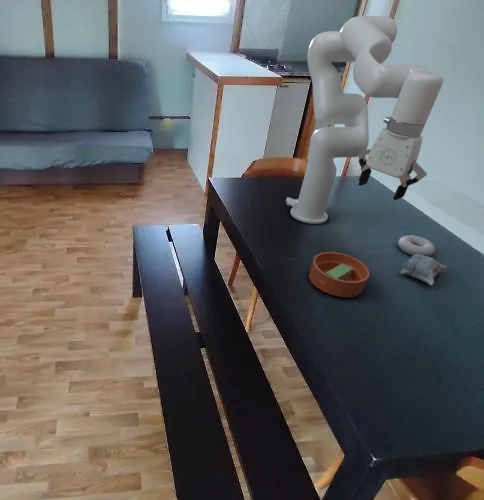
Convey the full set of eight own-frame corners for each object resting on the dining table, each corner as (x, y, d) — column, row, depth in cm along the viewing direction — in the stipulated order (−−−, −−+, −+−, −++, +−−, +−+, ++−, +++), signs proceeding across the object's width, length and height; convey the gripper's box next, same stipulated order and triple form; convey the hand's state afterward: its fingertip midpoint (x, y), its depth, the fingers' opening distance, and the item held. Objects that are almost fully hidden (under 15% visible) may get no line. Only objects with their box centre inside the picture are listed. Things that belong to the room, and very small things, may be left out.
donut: (402, 257, 125) (437, 261, 123) (406, 247, 123) (442, 251, 121) (392, 240, 133) (425, 244, 131) (396, 231, 131) (429, 235, 130)
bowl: (300, 284, 112) (305, 267, 109) (318, 261, 121) (323, 246, 118) (354, 306, 104) (361, 289, 101) (368, 281, 114) (375, 265, 111)
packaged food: (443, 274, 118) (450, 260, 115) (428, 290, 111) (436, 276, 108) (410, 261, 123) (417, 247, 120) (395, 276, 116) (401, 262, 114)
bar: (332, 289, 109) (336, 278, 107) (322, 283, 111) (325, 272, 109) (349, 279, 113) (353, 268, 111) (338, 273, 115) (342, 263, 113)
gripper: (363, 119, 102) (341, 182, 112) (434, 141, 90) (404, 208, 100) (379, 115, 106) (357, 176, 115) (450, 135, 94) (419, 201, 104)
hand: (379, 191), depth 108 cm, fingers open, 9 cm apart
